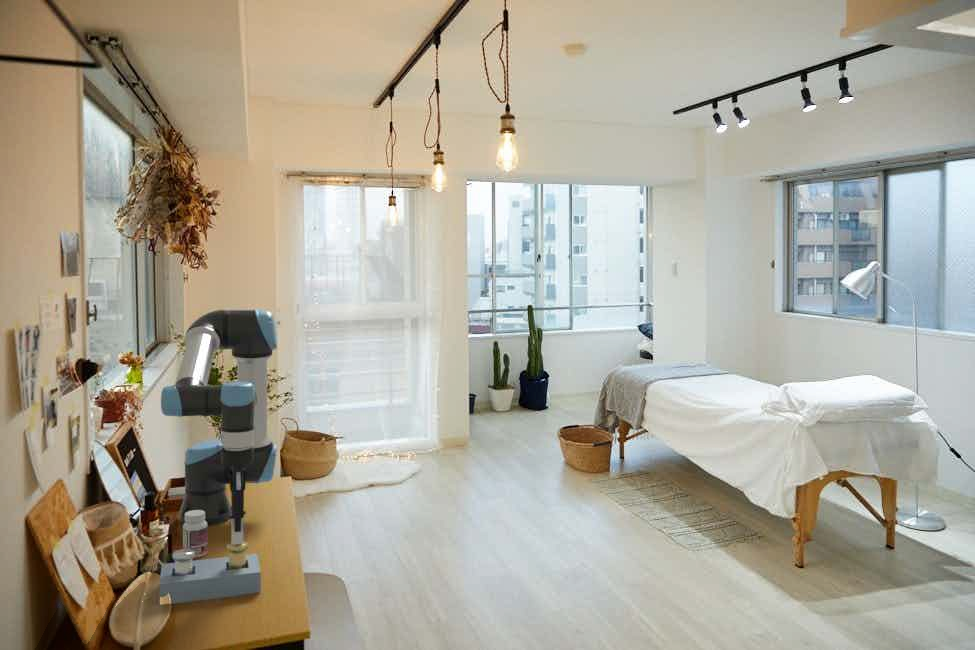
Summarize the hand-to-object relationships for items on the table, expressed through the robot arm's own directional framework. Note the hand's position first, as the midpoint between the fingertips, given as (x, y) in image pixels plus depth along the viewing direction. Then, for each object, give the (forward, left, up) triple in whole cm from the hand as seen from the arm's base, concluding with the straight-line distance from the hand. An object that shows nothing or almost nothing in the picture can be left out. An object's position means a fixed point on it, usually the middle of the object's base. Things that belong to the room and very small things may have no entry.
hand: (237, 543), depth 176 cm
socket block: (0, -6, -11) cm, 12 cm away
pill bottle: (-24, -10, -11) cm, 28 cm away
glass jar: (0, 0, -9) cm, 9 cm away
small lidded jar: (0, -12, -10) cm, 15 cm away
